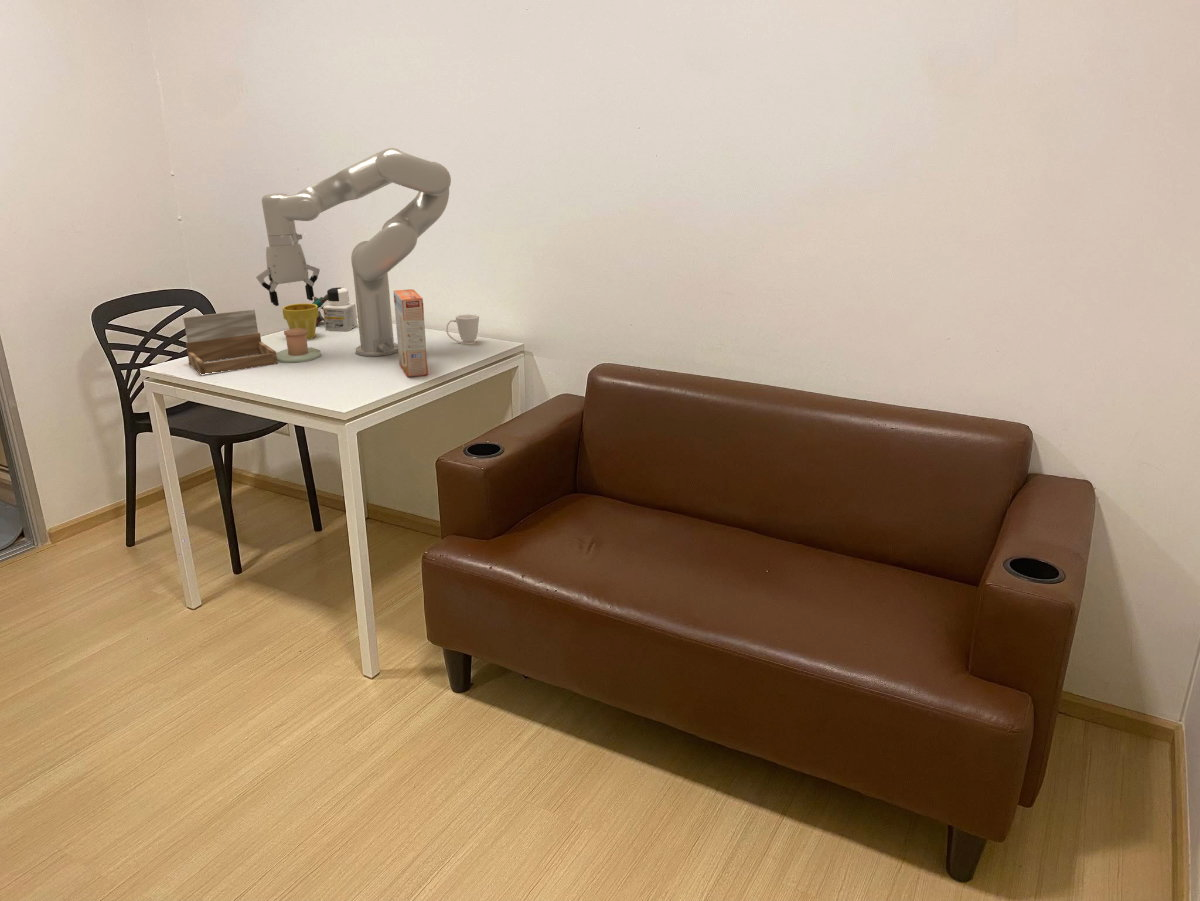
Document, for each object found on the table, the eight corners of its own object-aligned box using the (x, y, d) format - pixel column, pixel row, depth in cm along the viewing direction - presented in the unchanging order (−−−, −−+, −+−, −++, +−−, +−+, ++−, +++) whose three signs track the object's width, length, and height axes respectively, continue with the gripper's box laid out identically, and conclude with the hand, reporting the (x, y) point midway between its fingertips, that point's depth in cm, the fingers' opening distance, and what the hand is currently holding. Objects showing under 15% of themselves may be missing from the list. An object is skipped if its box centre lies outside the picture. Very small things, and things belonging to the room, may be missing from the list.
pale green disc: (327, 357, 253) (327, 354, 253) (282, 365, 246) (281, 361, 246) (312, 348, 263) (312, 345, 263) (268, 355, 256) (267, 352, 256)
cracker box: (429, 375, 236) (423, 297, 228) (406, 378, 234) (400, 299, 226) (420, 362, 248) (414, 288, 241) (398, 364, 246) (392, 289, 239)
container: (325, 330, 285) (320, 290, 280) (335, 325, 292) (331, 285, 287) (347, 331, 284) (343, 291, 279) (358, 326, 291) (353, 286, 286)
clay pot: (312, 353, 254) (309, 331, 251) (290, 357, 250) (287, 334, 248) (305, 349, 258) (302, 327, 256) (284, 352, 255) (281, 330, 253)
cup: (479, 345, 266) (478, 318, 263) (446, 346, 265) (444, 319, 262) (481, 339, 273) (479, 313, 270) (448, 340, 272) (446, 314, 269)
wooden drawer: (277, 363, 248) (271, 317, 243) (202, 375, 237) (193, 327, 232) (261, 352, 259) (255, 308, 255) (189, 363, 248) (181, 317, 244)
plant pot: (315, 341, 271) (311, 310, 268) (281, 341, 272) (277, 310, 268) (325, 333, 281) (321, 303, 278) (293, 333, 281) (289, 303, 278)
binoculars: (324, 327, 298) (304, 303, 295) (346, 312, 297) (326, 287, 294) (318, 334, 290) (298, 309, 286) (341, 318, 289) (321, 293, 285)
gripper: (309, 235, 250) (318, 296, 257) (246, 243, 241) (258, 305, 248) (318, 238, 245) (327, 299, 251) (254, 245, 236) (266, 309, 242)
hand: (293, 302), depth 249 cm, fingers open, 9 cm apart
